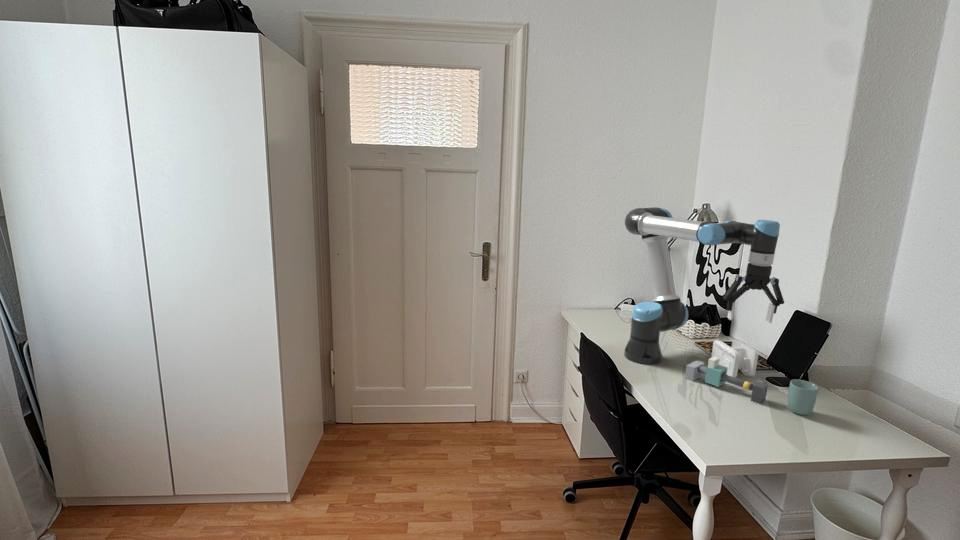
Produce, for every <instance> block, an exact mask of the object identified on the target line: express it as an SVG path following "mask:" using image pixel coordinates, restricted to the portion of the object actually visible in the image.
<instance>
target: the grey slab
mask: <svg viewBox="0 0 960 540" xmlns="http://www.w3.org/2000/svg"><path fill="white" fill-rule="evenodd" d="M699 366H702V367H705V362H704V361H700V360H695V361H693V362H691V363H688V364H686V370H685V376H684V379H686V380H689V381H691V382H694V381H695V380H697V379H699V378H701V377H702V376H703V373H700V372H698V371H697V370H698V367H699Z"/></svg>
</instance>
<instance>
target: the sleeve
mask: <svg viewBox="0 0 960 540" xmlns="http://www.w3.org/2000/svg"><path fill="white" fill-rule="evenodd" d="M719 359H720V358H718V357H715V356H714V357H712V358H711V357H710V358H708V362H707V363H708V364H707V366H706V368H707V369H706V374H705V378H704V383H707V384H710V385H713V386H715V387H716V388H717V387H721V386H722V385H724V384H726V381H723V380H721V375H722V374H725V375H727V369H728V368H727V367H724V366H721V365H719Z"/></svg>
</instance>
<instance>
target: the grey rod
mask: <svg viewBox="0 0 960 540" xmlns="http://www.w3.org/2000/svg"><path fill="white" fill-rule="evenodd" d="M706 369H707V367H705V366H704V367H702V366H699V367H698V370H697V371H698V372H700V373H703V374H704V375H706ZM721 380H723V381H726V382H727V383H729V384H731V385H735V386H737V387H739V388H740V387H741V388H743V389H744V390H747V391H751V392H752V389H753V385H754V384H755V383H751V382H749V381H746V380H742V379H741V378H740V379H739V378H737V377H735V378H734V377H731V376H728V375H725V374H722V375H721ZM726 382H725V383H726Z"/></svg>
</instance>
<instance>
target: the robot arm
mask: <svg viewBox="0 0 960 540" xmlns="http://www.w3.org/2000/svg"><path fill="white" fill-rule="evenodd" d="M624 226H625V229H626V231H628V232H629V233H630V234H632V235H637V236H639V235H640V236H641V240H642V241H643V242H644V243H646V249H647V250H646V251H647V255H648V262H649V267H650V274H651V281H652V287H653V295H654V297H653V299H652V300H651V301H641V302H638V303H636V304H635V305H634V306H633V308H632V312H631V322H630V323H631V324H630V333H629V334H630V336H629V340H628V341H627V343H626V346H625V347H624V352H623V355H624V357H625V358H626V359H628V360H629V361H632V362H634V363H639V364H645V365H656V364H659V363H660V362H661V361H662V356H663V354H662V350H661V346H660V336H661V333H663V332H667V331H670V330H671V331H672V330H673V331H674V330H677V329H680V328H682V327H684V326H685V325H686V323H687V322H688V319H689V310H688V307H687V306H686V305H685V303H683V301H682V302H681V297H680V296H679V295H677V293H676V289H675V281H674V277H673V270H672V265H671V264H672V263H671V258H670V250H669V245H668V239H669V238H673V239H679V240H686V241H693V242H698V243H701V244H703V245H704V246H718V245H725V244H726V245H729V244H741V245H747V246H750V249H749V255H748V260H747V261H748V263H747V266H746V271H745V272H746V273H745V276H742V275H738V274H737V275H736V276H735V278H734V281H733V282H732V283H731V285H730V287H728V289H727V290H726V291H725V293H724V294H723V296H722V299H724V300H725V301H727V304H726V310H727V319H728V320H729V321H733V320H734V315H735V309H736V305H737V303H736V302H735V301H736V300H738V299H739V298H740V297H741V296H742V295H744V294H745V293H746V292H748V291H750V290H753V291H755V290H759V291H761V290H762V291H763V292H764V294H765V295H766V296H767V298H768V299H769V301H770V302H771V303H768V307H767V312H766V317H765V321H766V322H768V323H769V324H770V323H771V324H772V323H773V318H774V315H775V314H776V313H777V310H778V307H779V306H780V305H784V304H785V300H784V297H783V294H782V291H781V288H780V284H779V283H780V279H779V278H777V277H775V276H773V277H771V275H772V270H773V266H772V265H773V264H774V259H775V255H776V249H777V244H778V238H779V236H780V228H781V224H780V223H779V222H778V221H775V220H770V219H757V220H755V223H754V224H753V223H746V222H740V221H737V220H736V221H735V220H733V221H732V220H725V221H723V223H722V222H721V223H720V222H718V223H717V222H710V221H709V222H707V221H698V220H691V219H686V218H685V219H683V218H676V217H673V215H672V213H671V212H670V211H669V210H668V209H666V208H664V207H657V206H655V207H638V208H634V209H632V210H630V211H629V212H628V213H627V214H626V216H625V218H624ZM742 283H743V284H742ZM741 284H742V285H741ZM769 284H771V287H772V288H773V289H772V290H773V293H774V295H773V293H772V292H771V290H770V288H769V286H768V285H769ZM740 286H741V287H740Z"/></svg>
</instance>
